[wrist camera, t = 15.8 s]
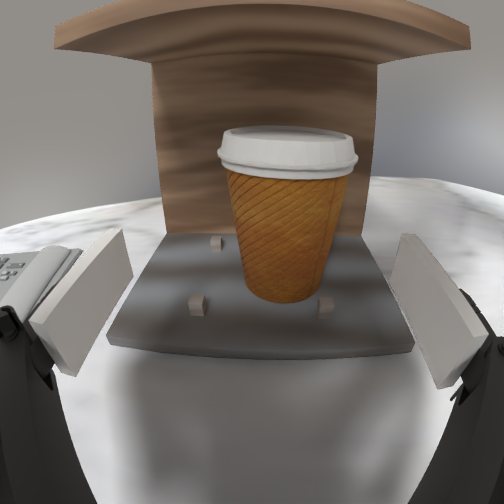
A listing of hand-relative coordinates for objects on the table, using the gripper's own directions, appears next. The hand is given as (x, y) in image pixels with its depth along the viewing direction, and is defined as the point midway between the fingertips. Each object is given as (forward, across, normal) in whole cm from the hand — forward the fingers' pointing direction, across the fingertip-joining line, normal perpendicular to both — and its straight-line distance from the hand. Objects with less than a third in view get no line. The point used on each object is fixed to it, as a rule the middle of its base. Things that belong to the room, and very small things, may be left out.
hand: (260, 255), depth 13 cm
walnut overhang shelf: (+10, 0, -9) cm, 13 cm away
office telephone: (+3, -32, -9) cm, 33 cm away
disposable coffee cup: (+9, +2, -8) cm, 12 cm away
